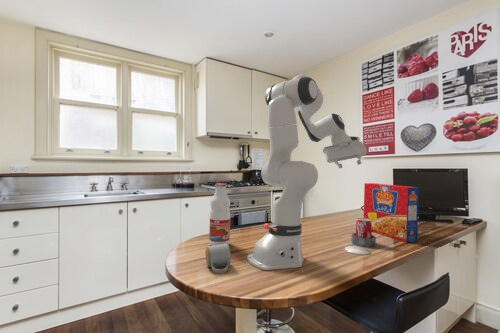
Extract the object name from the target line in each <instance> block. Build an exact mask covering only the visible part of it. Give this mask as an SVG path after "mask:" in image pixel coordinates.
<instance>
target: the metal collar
mask: <svg viewBox="0 0 500 333" xmlns="http://www.w3.org/2000/svg"><path fill="white" fill-rule="evenodd" d="M350 236H351V239H350V240H351V241H350V243H351V244H353V246H354V245H355V246H357V247H362V248H375V247H376V244H377V236H375V235H373V234H372V238H361V237H357V236H356V232H352V233H351V235H350Z"/></svg>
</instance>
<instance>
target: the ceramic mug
mask: <svg viewBox="0 0 500 333" xmlns="http://www.w3.org/2000/svg"><path fill="white" fill-rule="evenodd" d="M229 245H230V244H229ZM229 245H228V244H227V243H226V244H221V245H214V246H211V245H209V246H207V247H206V248H205V262H206V265H207V267H208V268H211V269H212V271H213V272H214V273H218V274H223V273H226V272H227V270H228V268H229V266H230V265H231V259H232V257H231V249H230V246H229ZM218 267H224V268H222V269H219V268H218Z"/></svg>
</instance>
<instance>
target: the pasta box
mask: <svg viewBox="0 0 500 333" xmlns="http://www.w3.org/2000/svg"><path fill="white" fill-rule="evenodd" d="M363 188H364V190H363V191H364V192H363V193H364V194H363V197H364V198H363V218H365V219H370V220H371V223H372V233H375V234H377V235H380V236H383V237H385V238H390V239H393V240H396V241H399V242H401V243H402V242H403V243H405V242H406V243H405V244H408V243H407V242H410V243H416V241H417V242H418V232H419V230H418V229H419V228H418V227H419V200H420V199H419V198H420V197H419V195H420V187H416V186H409V185H408V186H407V185H397V184H386V183H385V184H384V183H376V182H375V183H374V182H372V183H371V182H367V183H366V182H365V183H364V187H363Z"/></svg>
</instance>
